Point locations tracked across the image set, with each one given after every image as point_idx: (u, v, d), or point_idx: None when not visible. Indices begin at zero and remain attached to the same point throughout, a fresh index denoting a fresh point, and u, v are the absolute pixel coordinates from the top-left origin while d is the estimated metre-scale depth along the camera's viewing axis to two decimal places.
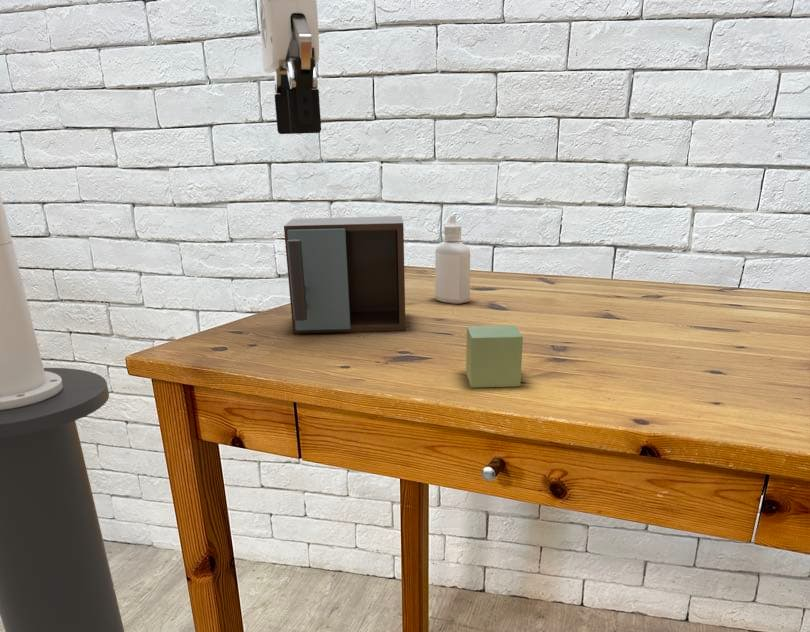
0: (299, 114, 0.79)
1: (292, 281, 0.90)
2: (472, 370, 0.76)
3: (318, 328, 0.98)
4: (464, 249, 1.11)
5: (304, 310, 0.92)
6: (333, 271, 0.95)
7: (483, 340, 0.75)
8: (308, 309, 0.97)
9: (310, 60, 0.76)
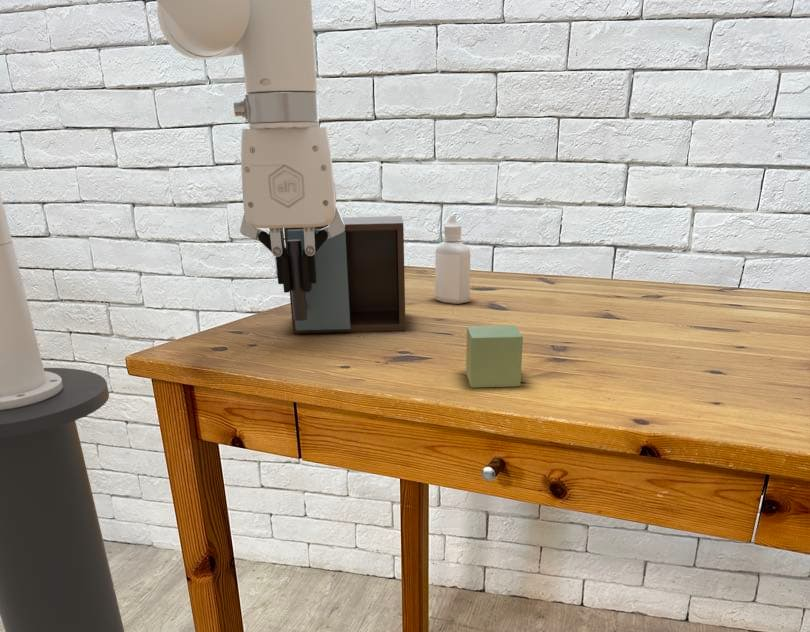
0: (314, 275, 0.90)
1: (292, 281, 0.90)
2: (472, 370, 0.76)
3: (318, 328, 0.98)
4: (464, 249, 1.11)
5: (304, 310, 0.92)
6: (333, 271, 0.95)
7: (483, 340, 0.75)
8: (308, 309, 0.97)
9: None
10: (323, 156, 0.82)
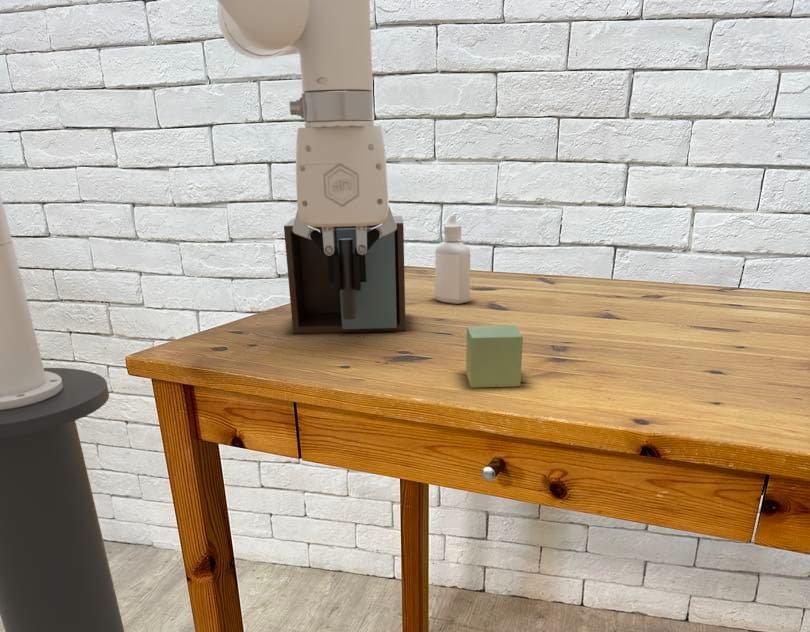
0: (365, 274, 0.90)
1: (343, 280, 0.90)
2: (472, 370, 0.76)
3: (365, 327, 0.98)
4: (464, 249, 1.11)
5: (354, 309, 0.92)
6: (381, 270, 0.95)
7: (483, 340, 0.75)
8: (355, 308, 0.97)
9: None
10: (379, 155, 0.82)
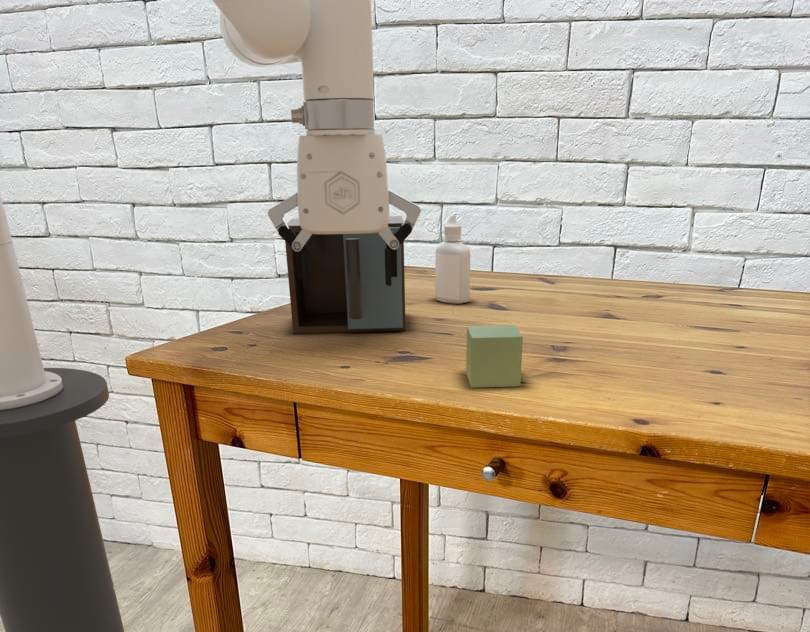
0: (396, 269, 0.90)
1: (349, 280, 0.90)
2: (472, 370, 0.76)
3: (371, 327, 0.98)
4: (464, 249, 1.11)
5: (360, 309, 0.92)
6: None
7: (483, 340, 0.75)
8: (361, 308, 0.97)
9: None
10: (380, 163, 0.83)
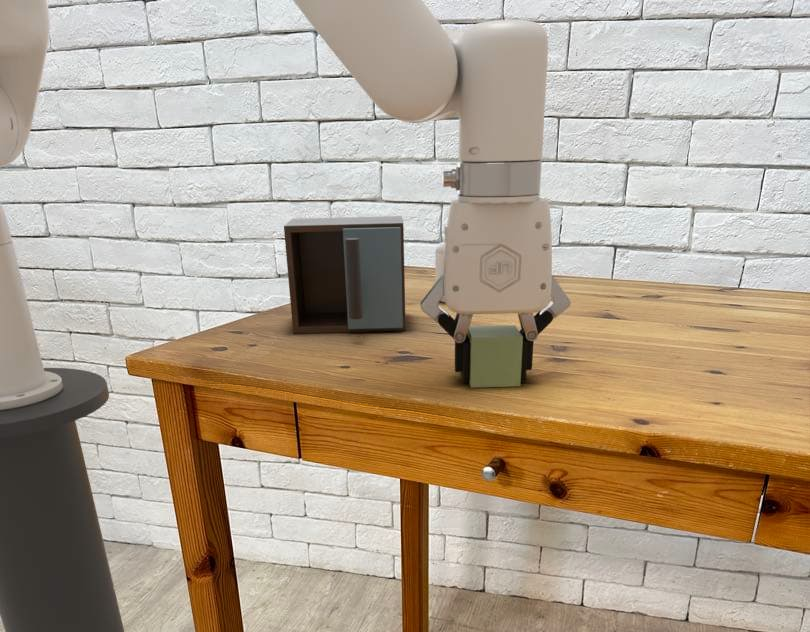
0: (531, 362, 0.77)
1: (349, 280, 0.90)
2: (472, 370, 0.76)
3: (371, 327, 0.98)
4: None
5: (360, 309, 0.92)
6: (387, 270, 0.95)
7: (483, 340, 0.75)
8: (361, 308, 0.97)
9: None
10: (547, 234, 0.70)
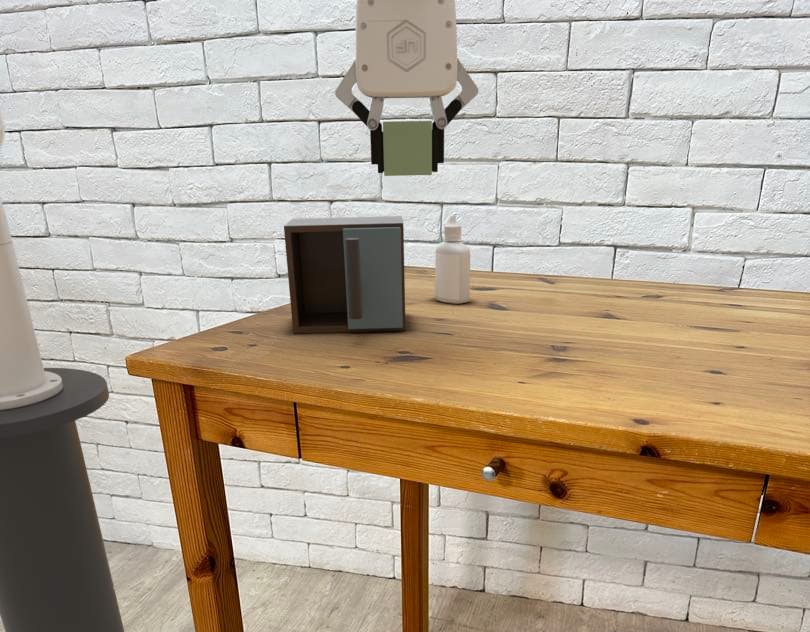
0: (443, 153, 0.81)
1: (349, 280, 0.90)
2: (385, 157, 0.80)
3: (371, 327, 0.98)
4: (464, 249, 1.11)
5: (360, 309, 0.92)
6: (387, 270, 0.95)
7: (394, 124, 0.78)
8: (361, 308, 0.97)
9: None
10: (449, 10, 0.74)
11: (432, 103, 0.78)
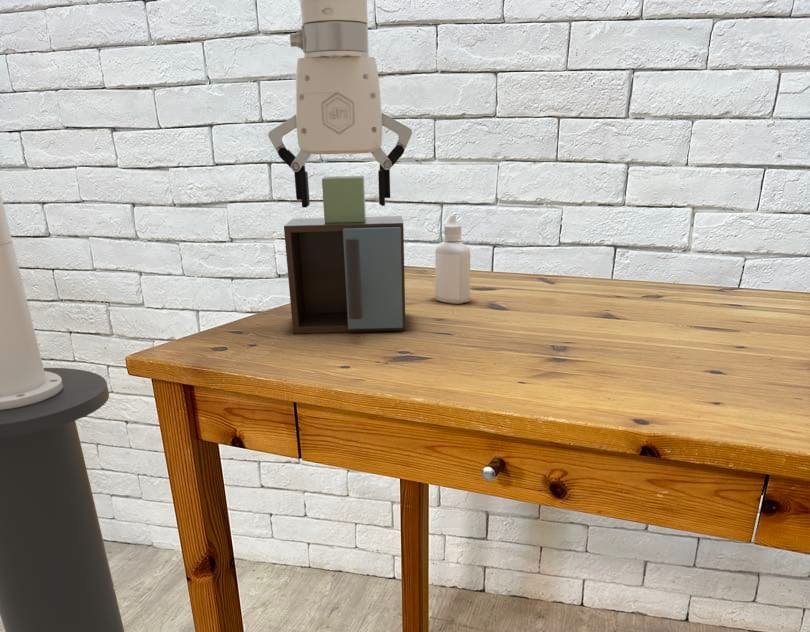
0: (389, 190, 0.95)
1: (349, 280, 0.90)
2: (324, 207, 0.94)
3: (371, 327, 0.98)
4: (464, 249, 1.11)
5: (360, 309, 0.92)
6: (387, 270, 0.95)
7: (331, 181, 0.93)
8: (361, 308, 0.97)
9: None
10: (373, 84, 0.88)
11: (373, 153, 0.93)
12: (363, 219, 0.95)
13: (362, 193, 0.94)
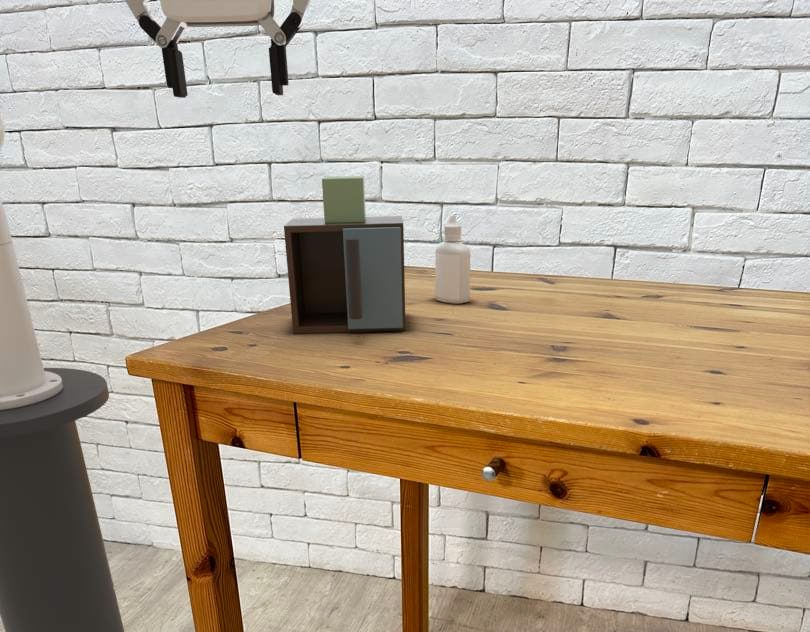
0: (285, 73, 0.75)
1: (349, 280, 0.90)
2: (324, 207, 0.94)
3: (371, 327, 0.98)
4: (464, 249, 1.11)
5: (360, 309, 0.92)
6: (387, 270, 0.95)
7: (331, 181, 0.93)
8: (361, 308, 0.97)
9: None
10: None
11: (261, 23, 0.72)
12: (363, 219, 0.95)
13: (362, 193, 0.94)
